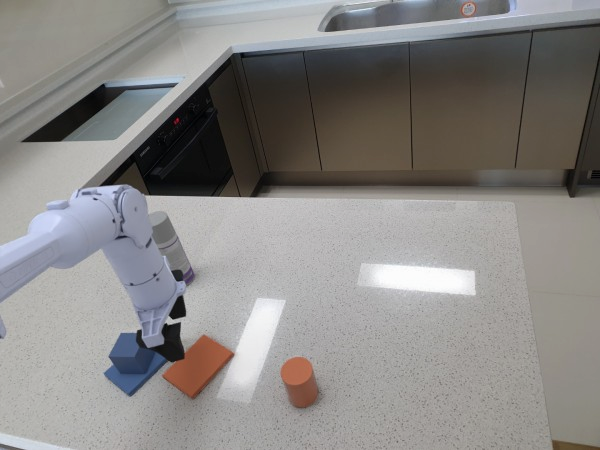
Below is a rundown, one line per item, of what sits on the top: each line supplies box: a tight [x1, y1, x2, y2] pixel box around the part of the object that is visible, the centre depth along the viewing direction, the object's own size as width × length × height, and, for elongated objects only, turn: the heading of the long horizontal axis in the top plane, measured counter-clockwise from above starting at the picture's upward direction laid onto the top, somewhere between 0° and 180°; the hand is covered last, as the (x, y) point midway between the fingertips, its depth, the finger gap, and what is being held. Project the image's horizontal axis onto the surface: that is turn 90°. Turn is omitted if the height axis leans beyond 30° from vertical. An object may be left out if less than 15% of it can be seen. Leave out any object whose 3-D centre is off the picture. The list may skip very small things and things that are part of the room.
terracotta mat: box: [161, 333, 235, 400], centre depth 72 cm, size 9×7×1 cm
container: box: [148, 210, 196, 287], centre depth 84 cm, size 5×5×15 cm
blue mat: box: [103, 352, 169, 397], centre depth 74 cm, size 9×7×1 cm
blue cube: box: [107, 332, 155, 374], centre depth 72 cm, size 4×4×4 cm
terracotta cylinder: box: [279, 356, 320, 408], centre depth 63 cm, size 4×4×6 cm
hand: (178, 336), depth 66 cm, fingers open, 7 cm apart
